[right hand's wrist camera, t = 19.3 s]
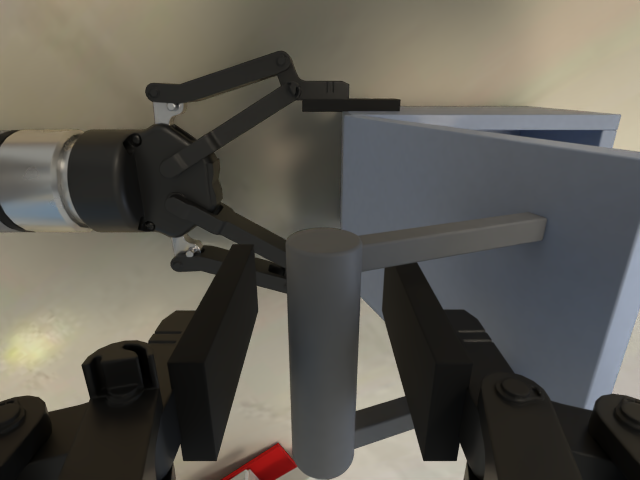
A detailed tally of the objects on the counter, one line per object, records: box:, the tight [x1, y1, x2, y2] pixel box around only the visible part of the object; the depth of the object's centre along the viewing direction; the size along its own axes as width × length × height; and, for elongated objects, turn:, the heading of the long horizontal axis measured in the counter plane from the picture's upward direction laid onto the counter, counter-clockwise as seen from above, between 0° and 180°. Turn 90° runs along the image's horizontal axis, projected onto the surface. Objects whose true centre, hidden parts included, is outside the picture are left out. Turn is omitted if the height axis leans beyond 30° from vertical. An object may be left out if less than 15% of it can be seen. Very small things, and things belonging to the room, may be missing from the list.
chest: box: [340, 106, 621, 229], centre depth 30 cm, size 16×10×11 cm, turn 90°
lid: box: [286, 115, 640, 480], centre depth 16 cm, size 16×10×8 cm
